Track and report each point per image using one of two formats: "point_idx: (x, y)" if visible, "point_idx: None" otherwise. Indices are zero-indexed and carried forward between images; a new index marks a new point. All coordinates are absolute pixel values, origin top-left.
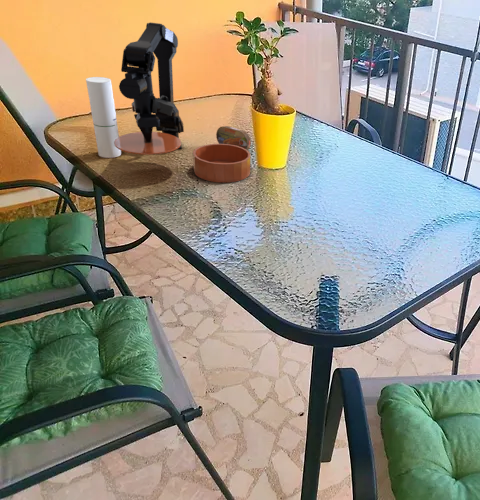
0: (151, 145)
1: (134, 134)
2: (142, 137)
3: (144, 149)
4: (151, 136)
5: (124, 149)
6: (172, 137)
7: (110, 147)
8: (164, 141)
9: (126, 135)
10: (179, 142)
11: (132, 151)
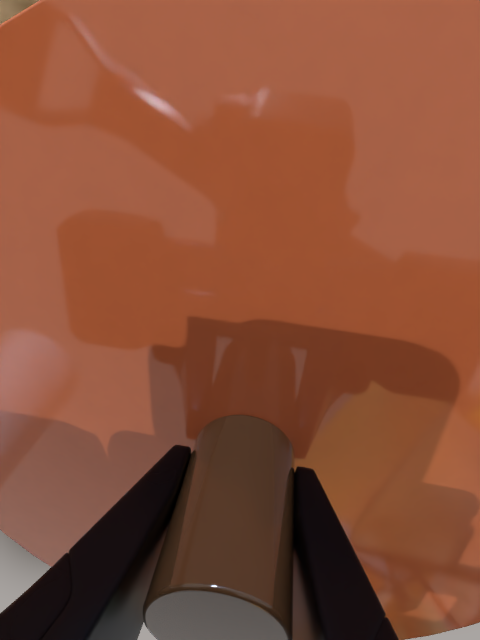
0: (380, 459)
1: (3, 487)
2: (93, 459)
3: (476, 542)
4: (277, 500)
5: None
6: (102, 88)
7: None
8: (283, 282)
9: (37, 538)
10: (430, 9)
11: (472, 616)
